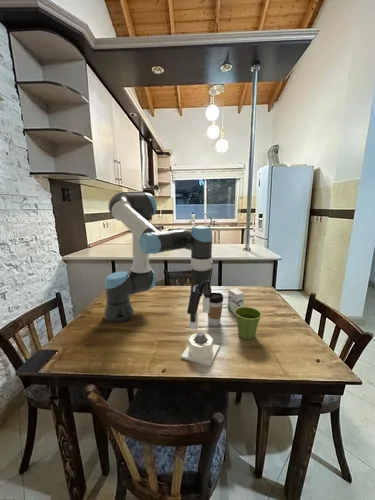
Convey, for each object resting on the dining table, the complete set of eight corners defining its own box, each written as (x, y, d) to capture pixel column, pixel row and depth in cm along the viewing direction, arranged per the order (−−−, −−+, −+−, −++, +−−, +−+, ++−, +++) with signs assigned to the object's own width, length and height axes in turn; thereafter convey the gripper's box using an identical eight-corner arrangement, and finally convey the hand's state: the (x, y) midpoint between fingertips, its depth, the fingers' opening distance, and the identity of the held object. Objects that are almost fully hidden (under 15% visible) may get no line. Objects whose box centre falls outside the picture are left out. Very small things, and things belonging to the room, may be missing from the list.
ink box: (227, 308, 132) (227, 288, 129) (234, 306, 134) (235, 287, 131) (235, 314, 124) (236, 294, 122) (243, 313, 126) (244, 292, 124)
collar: (186, 354, 91) (185, 343, 90) (194, 342, 99) (194, 331, 98) (207, 360, 87) (207, 348, 86) (214, 347, 95) (214, 336, 94)
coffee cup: (222, 327, 112) (222, 298, 108) (204, 326, 113) (205, 297, 110) (223, 319, 120) (223, 292, 117) (206, 317, 121) (207, 290, 118)
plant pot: (256, 346, 97) (257, 321, 95) (229, 337, 103) (230, 314, 101) (263, 332, 107) (264, 310, 105) (238, 325, 113) (239, 304, 111)
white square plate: (181, 358, 90) (180, 339, 89) (192, 341, 101) (192, 324, 99) (210, 366, 86) (210, 347, 84) (219, 348, 96) (219, 330, 95)
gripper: (198, 280, 73) (197, 339, 78) (220, 261, 95) (218, 308, 100) (177, 277, 76) (177, 334, 81) (203, 259, 98) (202, 304, 103)
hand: (200, 319), depth 91 cm, fingers open, 13 cm apart
